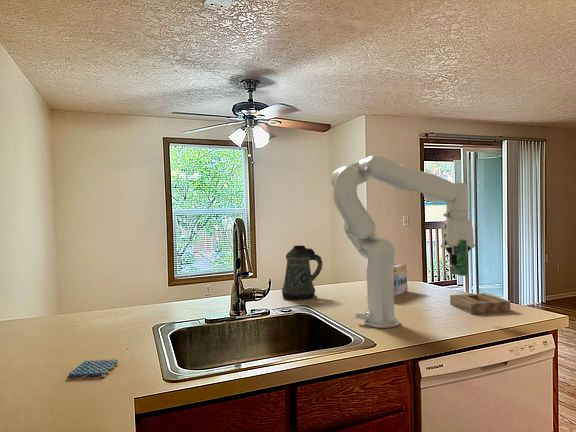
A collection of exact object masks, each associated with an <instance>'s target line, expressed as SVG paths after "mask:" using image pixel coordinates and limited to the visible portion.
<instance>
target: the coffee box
mask: <svg viewBox="0 0 576 432" xmlns="http://www.w3.org/2000/svg"><path fill="white" fill-rule="evenodd" d="M455 255H456V258H457V265H451V263H450V262H449V270H450V271H449V272H450V274H453V275H457V276H461V277H466V276H468V257H467V256H468V254H467V242H466V240H459V241H458V246H455Z"/></svg>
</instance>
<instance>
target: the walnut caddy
mask: <svg viewBox="0 0 576 432" xmlns="http://www.w3.org/2000/svg"><path fill="white" fill-rule="evenodd" d="M449 303H450V305H451V306H453V307H455V308H457V309H459V310H461V311H463V312H465V313H468V314H470V315H483V314H484V315H485V314H498V313H510V312H511V300H509V299H506V298H503V297H501V296H497V295H494V294H491V293H489V292H481V293H467V294H466V293H465V294H450V295H449Z"/></svg>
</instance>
